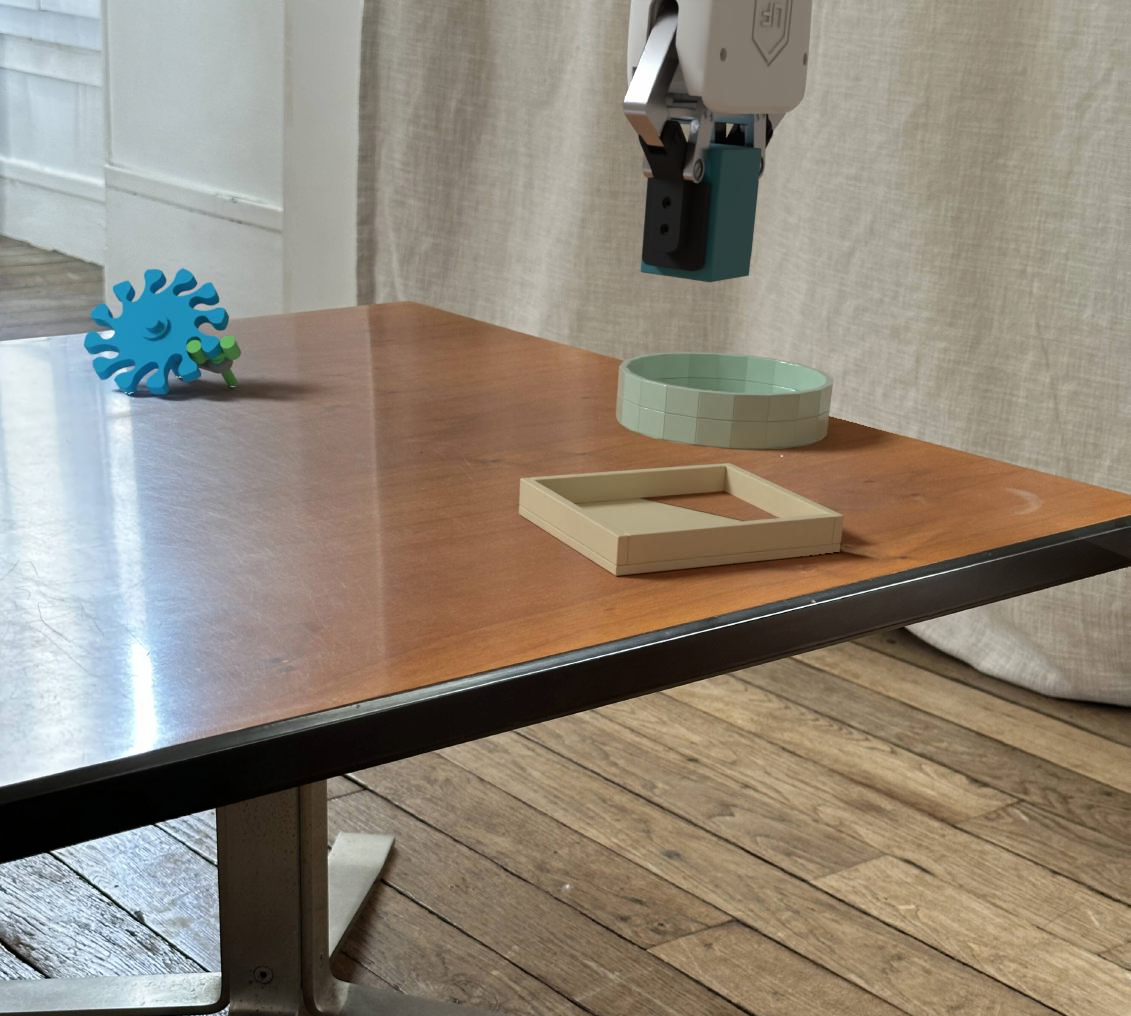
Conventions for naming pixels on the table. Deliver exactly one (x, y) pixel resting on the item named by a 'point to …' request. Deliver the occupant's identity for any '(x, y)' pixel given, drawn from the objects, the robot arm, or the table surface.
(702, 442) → the bowl
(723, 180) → the block
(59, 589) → the table surface
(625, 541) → the tray
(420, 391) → the table surface
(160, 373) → the gear
